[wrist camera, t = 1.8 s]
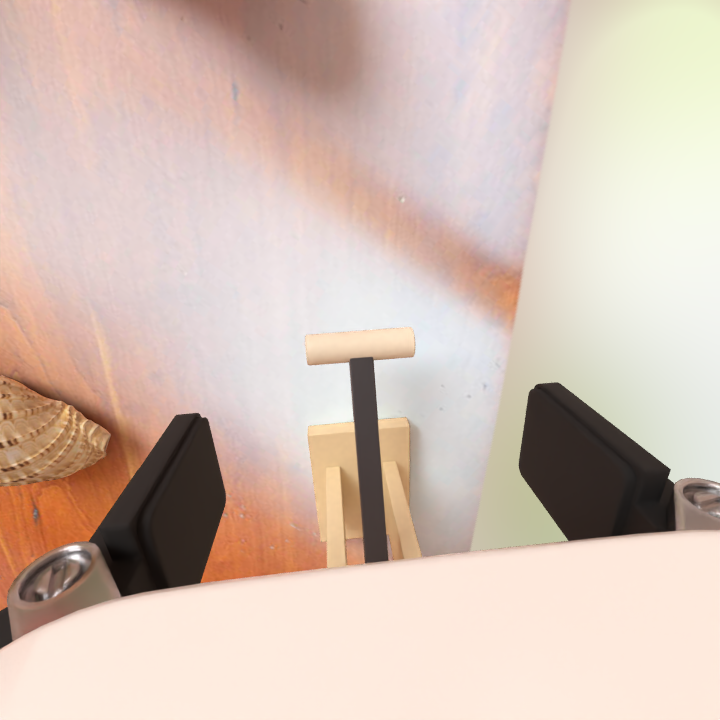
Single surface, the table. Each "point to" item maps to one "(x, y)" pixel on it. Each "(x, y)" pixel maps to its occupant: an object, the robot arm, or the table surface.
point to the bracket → (341, 487)
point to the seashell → (43, 437)
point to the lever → (365, 414)
